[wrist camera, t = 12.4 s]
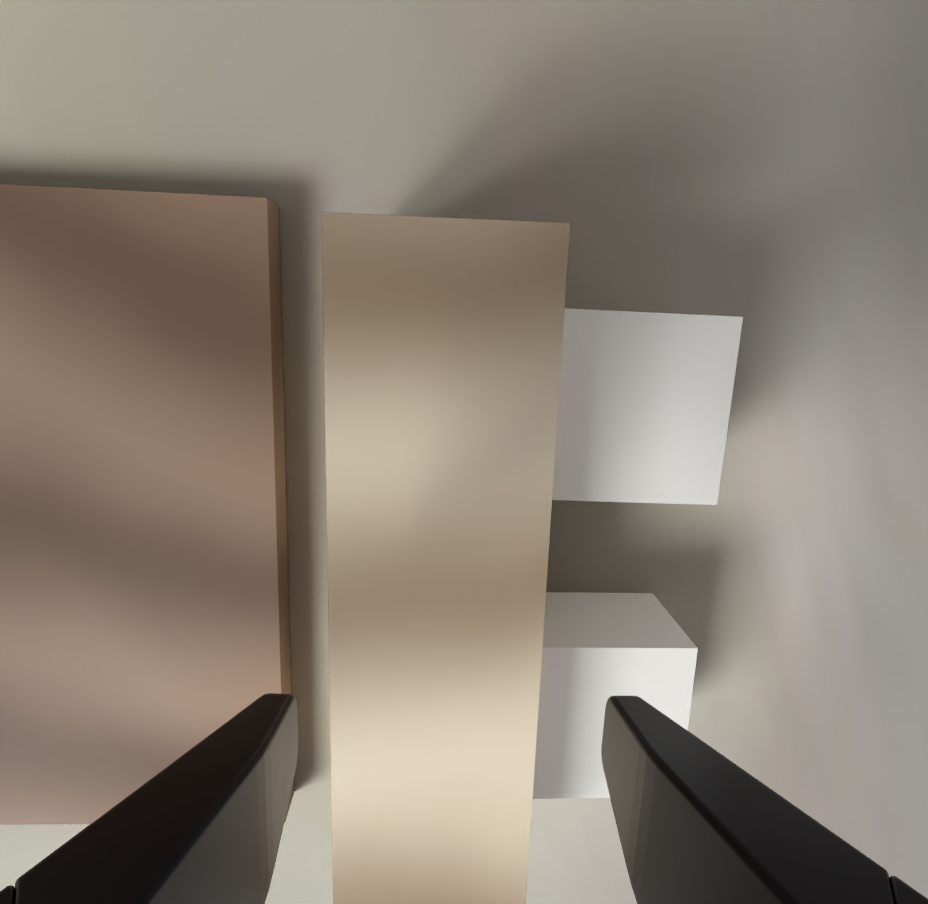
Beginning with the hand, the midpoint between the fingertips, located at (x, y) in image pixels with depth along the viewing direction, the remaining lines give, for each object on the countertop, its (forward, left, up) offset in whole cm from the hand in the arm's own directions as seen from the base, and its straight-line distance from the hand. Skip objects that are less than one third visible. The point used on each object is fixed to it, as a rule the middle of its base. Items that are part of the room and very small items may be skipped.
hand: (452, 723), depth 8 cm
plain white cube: (-4, -4, -8) cm, 9 cm away
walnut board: (0, +11, -8) cm, 13 cm away
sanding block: (0, 0, -8) cm, 8 cm away
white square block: (+4, -4, -8) cm, 10 cm away
